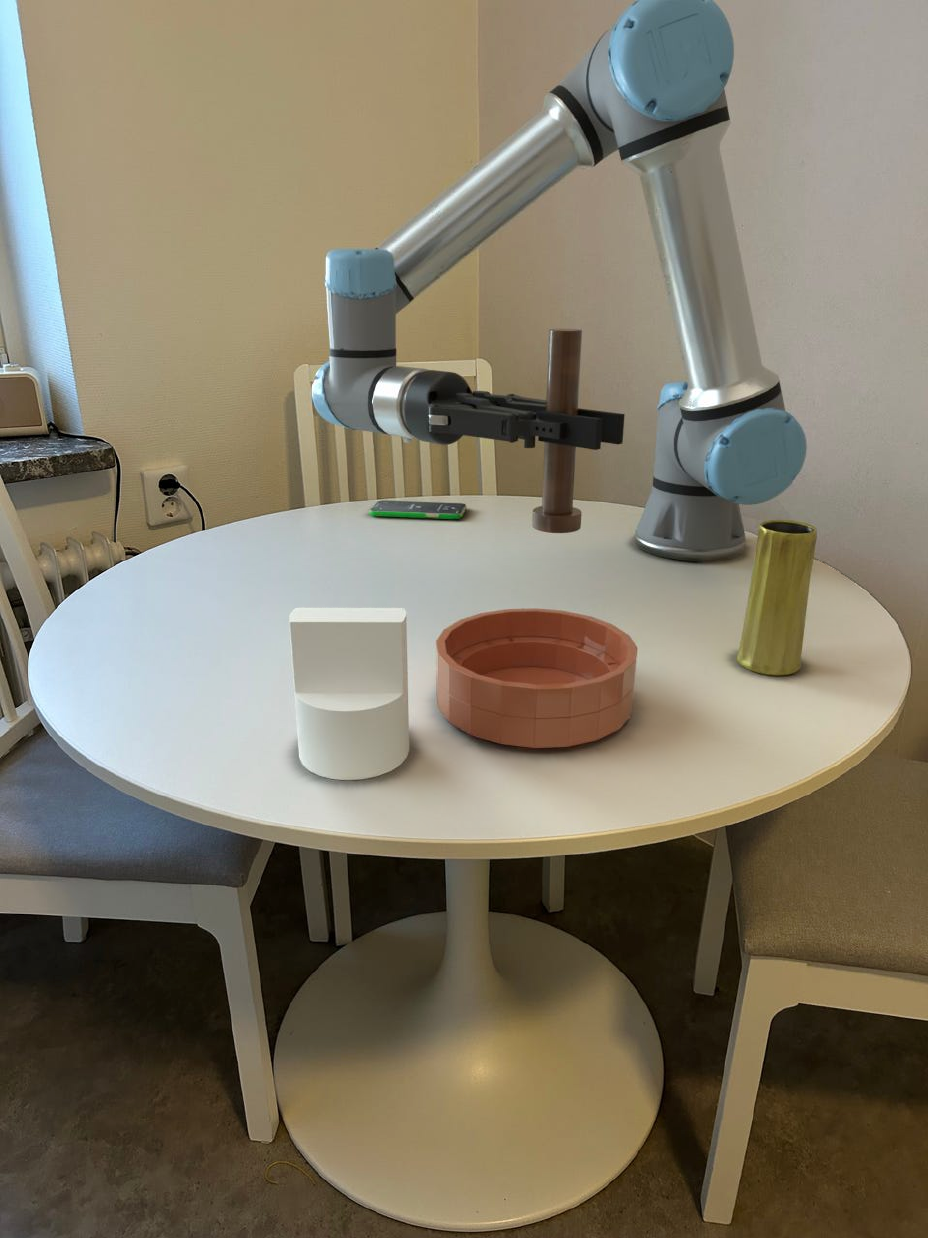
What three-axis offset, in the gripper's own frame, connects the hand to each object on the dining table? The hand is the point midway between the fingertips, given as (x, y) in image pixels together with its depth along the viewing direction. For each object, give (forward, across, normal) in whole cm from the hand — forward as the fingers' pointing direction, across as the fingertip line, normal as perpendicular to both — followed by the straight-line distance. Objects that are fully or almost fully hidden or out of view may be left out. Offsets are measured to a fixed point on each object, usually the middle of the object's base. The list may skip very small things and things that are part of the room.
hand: (609, 431), depth 80 cm
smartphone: (-54, -29, -23) cm, 66 cm away
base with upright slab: (-5, +28, -23) cm, 37 cm away
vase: (+13, -12, -23) cm, 29 cm away
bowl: (+1, +12, -23) cm, 26 cm away
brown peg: (-5, 0, -10) cm, 11 cm away
